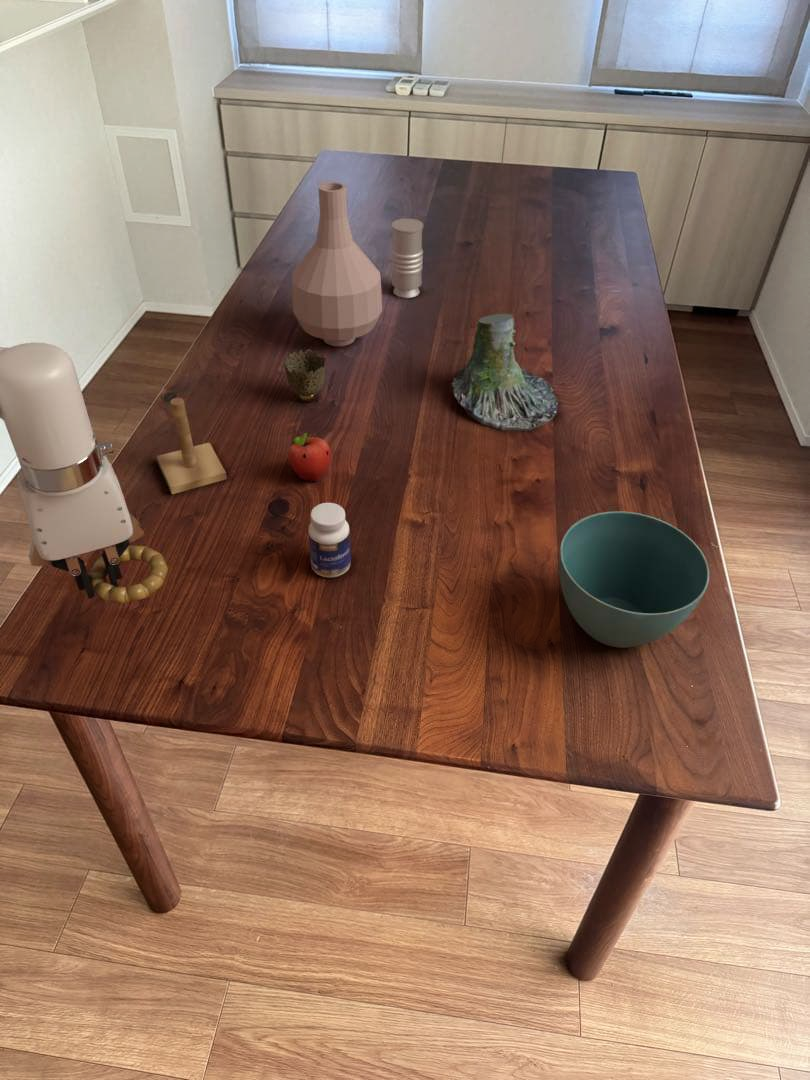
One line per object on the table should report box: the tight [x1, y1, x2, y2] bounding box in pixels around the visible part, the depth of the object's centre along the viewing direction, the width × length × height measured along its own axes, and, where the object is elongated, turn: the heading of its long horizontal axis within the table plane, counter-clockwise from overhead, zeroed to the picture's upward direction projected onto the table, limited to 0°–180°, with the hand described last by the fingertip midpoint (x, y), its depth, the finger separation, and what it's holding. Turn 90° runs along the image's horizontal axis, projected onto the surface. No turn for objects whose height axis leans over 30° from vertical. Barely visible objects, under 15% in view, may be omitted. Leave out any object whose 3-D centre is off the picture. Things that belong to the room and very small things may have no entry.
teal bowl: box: [558, 510, 710, 649], centre depth 103 cm, size 18×18×12 cm
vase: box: [291, 181, 383, 347], centre depth 152 cm, size 18×18×30 cm
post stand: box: [155, 397, 228, 495], centre depth 125 cm, size 9×9×14 cm
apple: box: [287, 432, 332, 482], centre depth 125 cm, size 8×7×10 cm
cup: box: [282, 349, 327, 403], centre depth 143 cm, size 8×7×8 cm
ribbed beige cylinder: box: [390, 218, 424, 299], centre depth 173 cm, size 7×7×15 cm
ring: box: [88, 544, 169, 604], centre depth 95 cm, size 9×9×2 cm
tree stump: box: [451, 313, 559, 431], centre depth 142 cm, size 18×20×18 cm
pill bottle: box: [307, 502, 352, 579], centre depth 111 cm, size 6×6×10 cm
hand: (101, 585), depth 94 cm, fingers closed on ring, 2 cm apart
